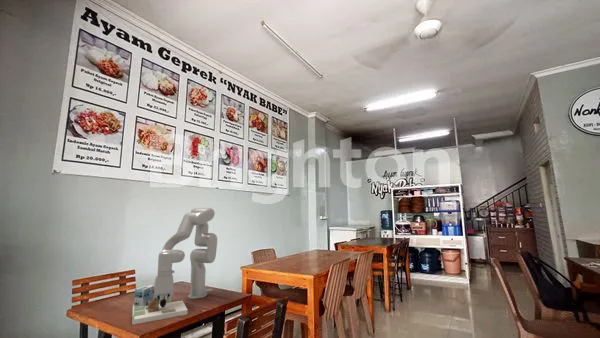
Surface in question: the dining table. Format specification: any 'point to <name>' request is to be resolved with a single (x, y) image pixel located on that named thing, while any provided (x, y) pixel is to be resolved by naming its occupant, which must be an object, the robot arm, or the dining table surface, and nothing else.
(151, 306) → the walnut block
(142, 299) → the light bulb box
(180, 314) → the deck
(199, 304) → the dining table surface
